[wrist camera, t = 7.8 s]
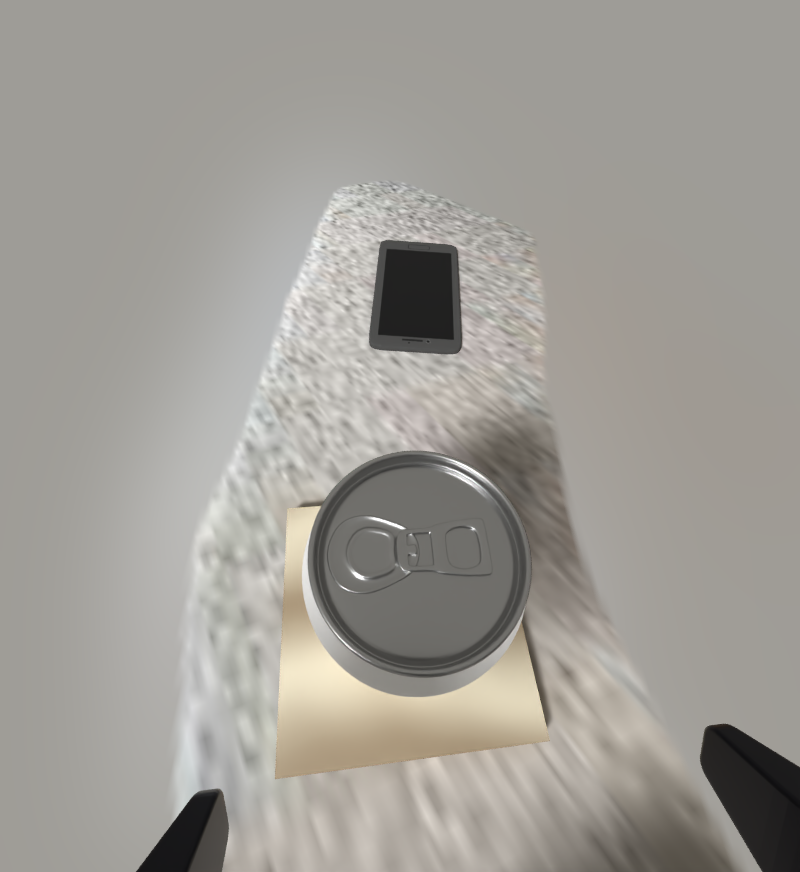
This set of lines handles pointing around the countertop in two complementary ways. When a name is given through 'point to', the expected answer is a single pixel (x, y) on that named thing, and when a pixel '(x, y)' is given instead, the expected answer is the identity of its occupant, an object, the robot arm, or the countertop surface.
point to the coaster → (385, 697)
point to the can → (416, 573)
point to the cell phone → (416, 299)
